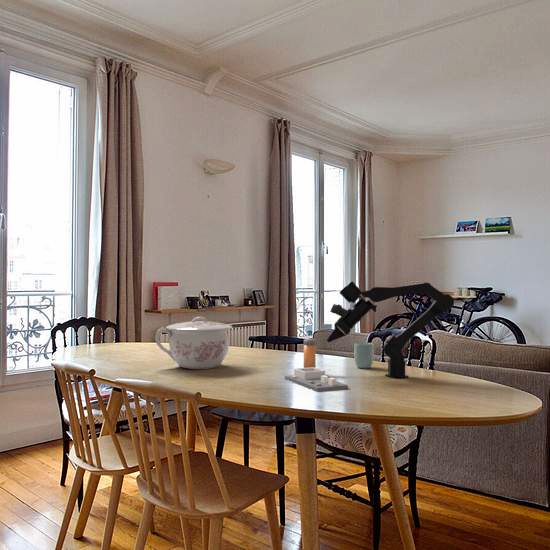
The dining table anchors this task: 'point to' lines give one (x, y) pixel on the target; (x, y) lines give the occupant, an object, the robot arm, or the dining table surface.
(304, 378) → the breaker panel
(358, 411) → the dining table surface
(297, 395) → the dining table surface
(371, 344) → the cup
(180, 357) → the chamber pot
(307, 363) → the capped spray can
